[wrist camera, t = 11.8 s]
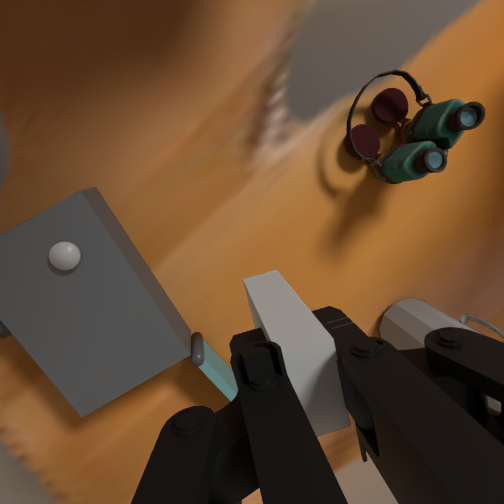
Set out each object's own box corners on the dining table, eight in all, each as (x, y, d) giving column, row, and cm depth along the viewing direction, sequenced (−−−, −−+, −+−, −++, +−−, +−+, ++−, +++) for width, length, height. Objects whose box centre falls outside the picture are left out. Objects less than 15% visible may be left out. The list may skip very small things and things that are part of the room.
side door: (258, 412, 45) (267, 442, 40) (189, 336, 42) (189, 360, 37) (271, 402, 45) (281, 432, 40) (202, 326, 42) (204, 348, 37)
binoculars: (423, 27, 29) (512, 112, 31) (370, 70, 39) (438, 131, 41) (350, 122, 30) (440, 200, 31) (317, 140, 40) (386, 197, 42)
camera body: (-34, 259, 36) (-78, 278, 30) (95, 187, 37) (77, 191, 31) (78, 396, 41) (59, 435, 35) (191, 331, 42) (191, 359, 36)
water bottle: (391, 363, 47) (603, 572, 23) (364, 315, 45) (566, 489, 21) (453, 323, 47) (728, 489, 23) (429, 273, 45) (704, 399, 21)
